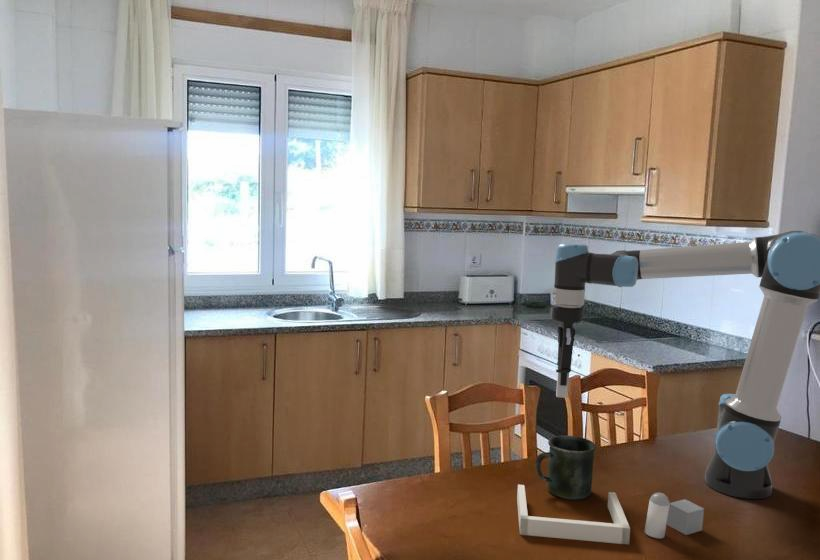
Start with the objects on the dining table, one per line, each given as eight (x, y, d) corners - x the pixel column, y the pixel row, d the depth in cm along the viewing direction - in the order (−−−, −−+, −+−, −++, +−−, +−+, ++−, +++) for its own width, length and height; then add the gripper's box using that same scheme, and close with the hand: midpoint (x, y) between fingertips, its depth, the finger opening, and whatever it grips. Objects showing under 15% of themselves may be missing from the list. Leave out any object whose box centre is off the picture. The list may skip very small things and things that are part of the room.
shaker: (658, 529, 146) (664, 489, 145) (668, 538, 142) (674, 497, 141) (641, 528, 145) (647, 488, 144) (650, 538, 141) (656, 496, 140)
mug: (601, 499, 159) (605, 450, 158) (544, 504, 156) (547, 454, 154) (579, 480, 170) (582, 434, 168) (525, 484, 166) (527, 437, 164)
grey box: (701, 530, 146) (704, 508, 145) (685, 535, 144) (687, 513, 143) (682, 520, 150) (684, 499, 150) (666, 525, 148) (668, 503, 147)
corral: (614, 507, 155) (615, 492, 155) (628, 544, 139) (630, 528, 138) (517, 498, 158) (517, 484, 157) (519, 534, 141) (520, 518, 141)
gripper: (550, 300, 177) (544, 388, 180) (555, 308, 164) (548, 403, 167) (580, 302, 176) (573, 390, 179) (587, 310, 163) (580, 405, 166)
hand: (561, 396), depth 173 cm, fingers closed
